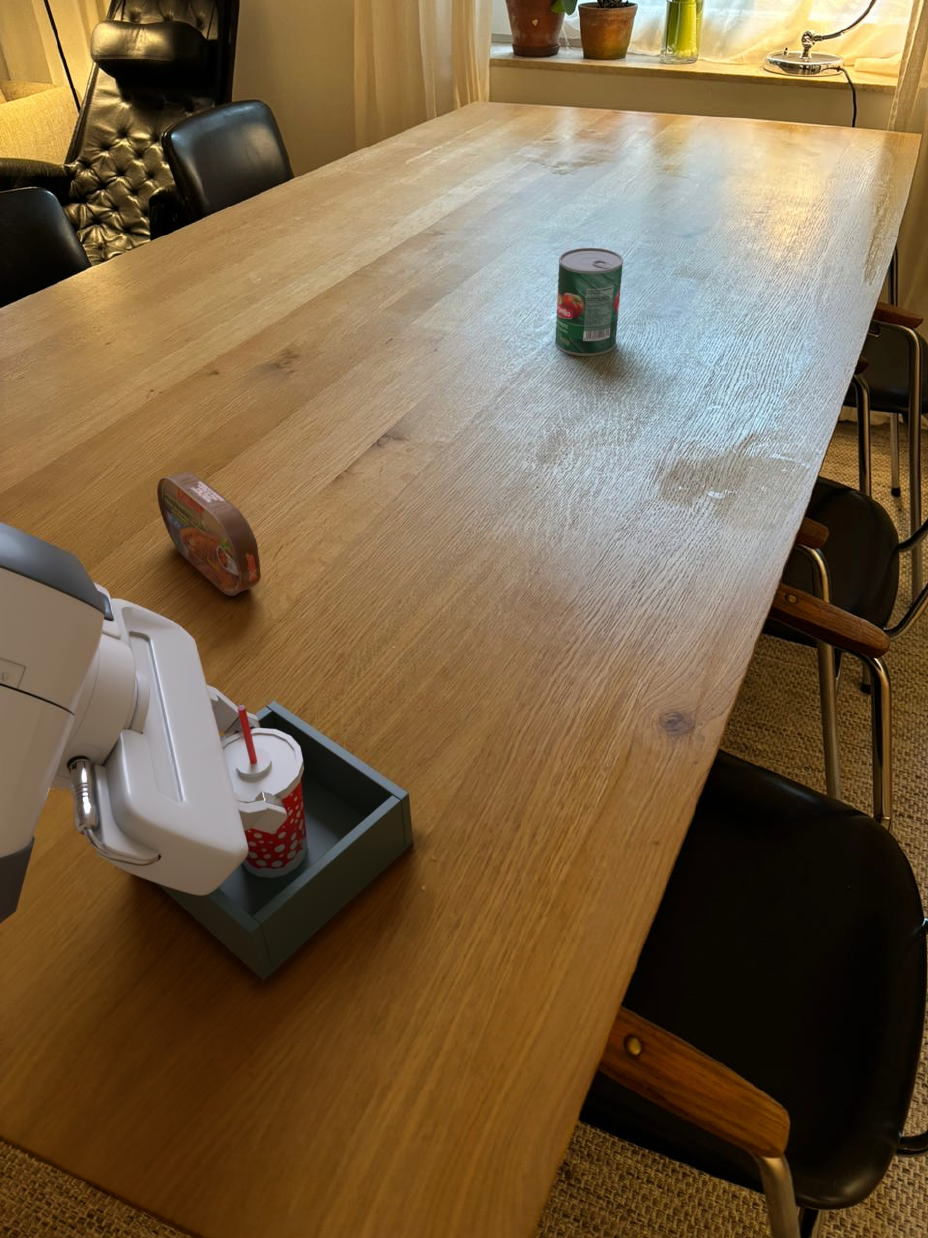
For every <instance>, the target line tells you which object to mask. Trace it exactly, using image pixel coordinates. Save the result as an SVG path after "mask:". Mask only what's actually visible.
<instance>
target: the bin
mask: <svg viewBox="0 0 928 1238" xmlns="http://www.w3.org/2000/svg"><path fill="white" fill-rule="evenodd" d="M253 714H254V715H256V716H257V717H258V721H259V724H260V728H266V729H276V730H279V731H281V732H283V733H285V734H288V735H290V736H291V737H292V738H293V739H294V740H295V741H296V742H297V744H298V745H299V746H300V748H301V753H302V758H303V766H304V770H303V773H302V776H301V783H302V794H303V804H304V815H305V825H306V836H307V847H308V848H307V851H306V854H305V858H304V859H303V861H302V862H301V863H300V864H299V865H298V867H297V868H295V869H294V870H292V871H290V872H289V873H287V874H285V875H282V876H278V877H274V878H267V877H258V876H256V875H254V874H252V873H251V872H249V871H248V870H247V869H246V868H245V866H244V865H243V864H242V863H241V865H240V866H239V867H238V868H237V869H236V870H235V872H234V873H233V874H232V875H231V876H230V877H229V878H228V879H227V880H226V881H225V882H224V883H223V884H222V885H221V886H220V887H219V888H217V889H216V890H214V891H213V892H211V893H209V894H207V895H194V894H190V893H186V892H183V891H180V890H176V889H173V888H170V887H167V886H164V885H161V884H158V883H156V885H158V886H159V887H160V888H161V889H162V890H163V891H165V892H166V893H167V894H168V895H169V897H171V898H172V899H173V900H174V901H176V903H178V904H179V905H180V906H181V907H182V908H183V909H184V910H185V911H186V912H188V913H189V914H190V915H191V916H192V917H193V918H194V919H195V920H196V921H197V922H198V923H200V925H202V926H203V927H204V928H205V929H206V930H207V931H208V932H209V933H211V934H212V935H213V936H214V937H215V938H216V939H217V940H218V941H219V942H220V943H222V944H223V946H225V947H226V948H227V949H228V950H229V951H230V952H231V953H232V954H233V955H235V956H236V957H237V959H239V960H240V961H241V962H242V963H244V964H245V965H246V966H247V967H248V968H249V969H250V970H251V971H252V972H254V974H256V975H257V976H258V977H259V978H260V979H261V980H262V981H265V980H267V979H268V977H270V976H271V975H272V974H273V973H274V972H275V971H276V970H277V969H279V967H281V965H283V964H284V963H285V962H286V961H287V960H288V959H289V958H290V957H291V956H292V955H293V954H294V953H296V952H297V951H298V950H299V949H300V948H301V947H302V946H303V945H304V944H305V943H307V941H309V940H310V938H312V937H313V936H314V935H315V934H316V933H317V932H318V931H320V930H321V928H323V927H324V926H325V925H326V924H327V923H328V922H329V921H331V920H332V918H333V917H335V915H337V914H338V913H339V912H340V911H341V910H342V909H343V908H345V906H347V905H348V903H350V902H351V901H352V900H353V899H354V898H355V897H356V896H358V894H360V893H361V892H362V891H363V890H364V889H365V888H366V887H367V886H368V885H369V884H370V883H371V882H373V880H375V879H376V878H377V877H378V876H379V875H380V874H381V873H382V872H384V870H385V869H387V868H388V867H390V865H391V864H392V863H393V862H394V861H395V860H396V859H398V857H400V856H401V855H402V854H403V853H404V852H405V851H406V850H407V849H408V848H409V847H411V846H412V845H413V844H414V835H413V824H412V813H411V803H410V802H411V801H410V793H409V792H407V791H406V790H405V789H403V788H402V787H401V786H399V785H397V784H396V783H395V782H393V781H392V780H390V779H389V778H387V777H386V776H384V775H383V774H382V773H380V772H379V771H377V770H375V769H374V768H373V767H371V766H370V765H369V764H367V763H365V762H364V761H362V760H361V759H360V758H359V757H357V756H355V755H354V754H353V753H351V752H349V750H347V749H345V748H344V747H342V746H340V744H338V743H337V742H335V741H333V740H332V739H330V738H329V737H328V736H326V735H325V734H323V733H322V732H320V731H319V730H317V729H316V728H315V727H313V726H312V725H310V724H309V723H307V722H306V721H304V720H303V719H301V718H300V717H299V716H297V715H296V714H295V713H293V712H291V711H290V710H288V709H287V708H286V707H284V706H282V705H281V704H279V702H277V701H275V700H272V701H271V702H270V703H268V704H267V705H265V706H263V707H262V708H261V709H260V710H258V711H257V712H256V713H253ZM220 739H221V742H222V741H223V740H225V739H226V736H225V735H224V736H222V737H220Z"/></svg>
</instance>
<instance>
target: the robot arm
mask: <svg viewBox="0 0 928 1238" xmlns="http://www.w3.org/2000/svg"><path fill="white" fill-rule="evenodd" d="M237 707H238V706H237V705H236V704H235V703H234V702H232V700H230V699H229V698H228V697H227V696H225V694H223V693H222V692H221V691H220V690H219V689H218V688H216V687H214V686H211V685H209V684H207V681H206V678H205V674H204V670H203V665H202V662H201V658H200V653H199V650H198V646H197V641H196V640H195V638H194V637H193V636H192V635H191V634H190V633H189V632H188V631H187V630H186V629H185V628H183V627H182V626H181V625H180V624H179V623H177V622H175V621H173V620H171V619H169V618H167V617H165V616H163V615H161V614H159V613H157V612H154V611H152V610H151V609H148V608H146V607H144V606H141V605H139V604H137V603H134V602H131V601H129V600H126V599H123V598H116V597H115V598H113V597H111V595H110V593H109V591H108V589H106V588H105V587H104V586H101V585H100V584H98V583H96V582H94V581H93V579H92V577H91V575H90V574H89V573H88V570H86V568H85V567H84V565H83V564H82V562H81V561H80V559H79V558H78V557H77V555H75V554H74V553H73V552H70V551H68V550H65V549H64V548H62V547H59V546H57V545H54V544H52V543H50V542H48V541H45V540H43V539H41V538H39V537H37V536H34V535H32V534H29V533H27V532H25V531H22V530H20V529H18V528H16V527H14V526H11V525H9V524H7V523H5V522H2V521H0V925H1V924H2V923H3V922H5V921H6V920H7V919H8V918H9V917H11V916H13V915H14V914H15V913H16V912H17V909H18V906H19V900H20V898H21V893H22V891H23V886H24V882H25V879H26V875H27V872H28V867H29V864H30V860H31V856H32V853H33V848H34V844H35V842H36V838H35V832H36V829H37V826H38V823H39V821H40V818H41V816H42V812H43V809H44V807H45V804H46V801H47V799H48V796H49V793H50V790H51V789H55V790H59V791H63V792H64V791H65V792H67V791H71V794H72V798H73V801H74V808H73V823H74V826H75V829H76V831H77V833H78V834H80V835H82V836H85V838H86V840H87V842H88V843H89V845H90V846H91V847H93V849H94V850H95V852H96V854H97V856H98V857H100V858H101V859H103V860H104V861H107V862H108V863H110V864H111V865H112V866H115V867H117V868H119V869H120V870H122V871H124V872H127V873H129V874H131V875H133V876H137V877H139V878H142V879H144V880H147V881H150V882H152V883H155V884H157V883H158V884H161V885H164V886H167V887H170V888H173V889H176V890H180V891H183V892H186V893H190V894H194V895H207V894H209V893H211V892H213V891H214V890H216V889H217V888H219V887H220V886H221V885H222V884H223V883H224V882H225V881H226V880H227V879H228V878H229V877H230V876H231V875H232V874H233V873H234V872H235V870H236V869H237V868H238V867H239V866H240V865H241V863H242V862H243V861H244V860H245V858H246V857H247V855H248V844H247V840H246V836H245V832H244V831H246V830H248V829H250V828H253V829H256V830H260V831H264V832H267V833H271V832H274V831H276V830H277V829H278V828H279V827H280V826H281V825H282V824H283V823H284V822H285V821H286V820H287V813H286V810H285V807H284V804H283V801H282V798H281V797H280V796H277V795H276V796H273V795H272V794H271V793H268V792H264V791H261V793H260V794H259V795H258V796H257V797H256V798H255V801H254V802H251V803H244V802H245V798H244V796H243V795H240V794H237V793H234V790H233V786H232V782H231V778H230V774H229V770H228V766H227V762H226V759H225V755H224V751H223V747H222V743H221V735H220V732H221V733H222V734H224V736H226V739H227V738H229V737H230V736H232V735H234V734H236V733H238V732H243V731H242V726H241V722H240V718H239V714H238V709H237ZM246 713H247V717H248V721H249V726H250V729H255V728H260V724H259V721H258V717H257V716H256V715H254V714H255V713H250V712H248V711H246ZM158 884H157V885H158Z"/></svg>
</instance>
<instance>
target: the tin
mask: <svg viewBox="0 0 928 1238" xmlns="http://www.w3.org/2000/svg"><path fill="white" fill-rule="evenodd" d="M156 494H157V504H158V507H159V511H160V514H161V518H162V521H163V523H164V526H165V528H166V530H167V533H168V536H169V537H170V539H171V541H172V543H173V544H174V546H175V548H176V549H177V550H178V553H180V554H181V555H182V557H183V558H184V559H186V560H187V561H188V562H189V563H190V564H191V565H192V566H193V567H194V568H195V569H196V570H197V571H199V572H200V573H201V574H202V575H203V576H204V578H206V579H207V580H208V581H209V582H211V584H213V585H214V586H215V588H217V589H218V590H219V591H220V592H221V593H223V594H224V595H226V596H229V597H234V596H236V595H237V594H239V593H241V592H243V591H246V590H248V589H251V588H253V587H255V586H256V585H257V584H258V583H259V582H260V580H261V577H262V573H261V561H260V556H259V546H258V543H257V542H258V541H257V539H256V537H255V534H254V532H253V530H252V528H251V525H250V523H249V522H248V520H247V519H246V517H245V516H244V514H243V513H242V511H240V510H239V509H238V507H237V506H235V505H234V504H233V503H232V502H231V501H229V500H228V499H227V498H225V497H224V496H223V495H222V494H221V493H219V491H217V490H216V489H214V488H213V487H212V486H211V485H209V484H208V483H207V482H206V481H205V480H203V479H202V478H200V476H198V475H197V474H195V473H193V472H190V471H185V472H180V473H177V474H173V475H171V476H166V477H165V476H164V477H162V478H160V480H159V481H158V483H157V489H156Z"/></svg>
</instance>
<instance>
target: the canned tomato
mask: <svg viewBox="0 0 928 1238" xmlns="http://www.w3.org/2000/svg"><path fill="white" fill-rule="evenodd" d="M623 265H624V258H623V256H622V255H621V254H620V253H618V252H616V251H613V250H611V249H607V248H600V247H579V248H574V249H570V250H567V251H565V252H563V253H562V254H561V255H560V256H559V257H558V276H557V277H558V278H557V298H556V301H557V302H556V316H555V319H556V320H555V322H556V323H555V338H554V344H555V346H556V348H557V349H558V350H559V351H561V352H563V353H565V354H567V355H572V356H576V357H597V356H602V355H606V354H609V353H610V352H611V351H613V350H614V349H615V348H616V345H617V332H618V322H619V321H618V320H619V309H620V302H621V301H620V299H621V298H620V297H621V289H622V286H621V285H622V276H623Z"/></svg>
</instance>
